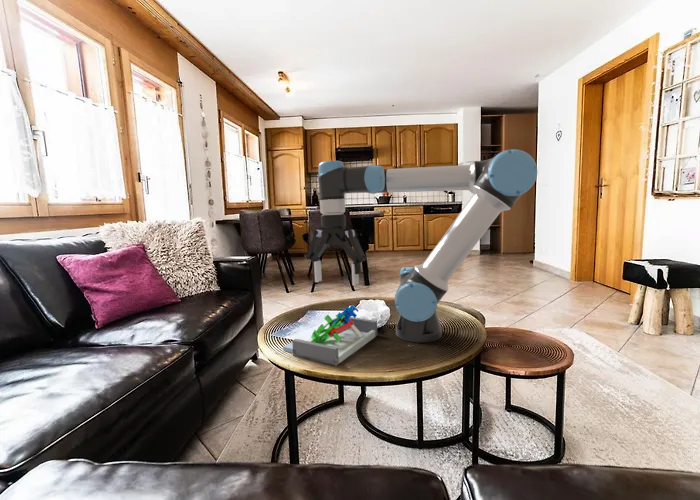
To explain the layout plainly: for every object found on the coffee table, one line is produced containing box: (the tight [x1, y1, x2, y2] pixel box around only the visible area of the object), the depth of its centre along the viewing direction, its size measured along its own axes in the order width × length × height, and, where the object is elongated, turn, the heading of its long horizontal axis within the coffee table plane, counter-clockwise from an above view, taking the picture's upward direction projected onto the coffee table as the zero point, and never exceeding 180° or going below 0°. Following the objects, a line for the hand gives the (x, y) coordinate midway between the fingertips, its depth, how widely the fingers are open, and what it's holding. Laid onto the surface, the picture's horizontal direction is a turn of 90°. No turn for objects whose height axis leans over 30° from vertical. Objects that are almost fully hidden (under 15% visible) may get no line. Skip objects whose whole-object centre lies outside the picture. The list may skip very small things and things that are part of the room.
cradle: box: [291, 316, 378, 367], centre depth 114 cm, size 15×26×5 cm, turn 150°
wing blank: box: [282, 338, 306, 354], centre depth 112 cm, size 7×4×2 cm, turn 145°
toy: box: [310, 304, 364, 344], centre depth 113 cm, size 20×10×11 cm
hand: (336, 283), depth 111 cm, fingers open, 13 cm apart
